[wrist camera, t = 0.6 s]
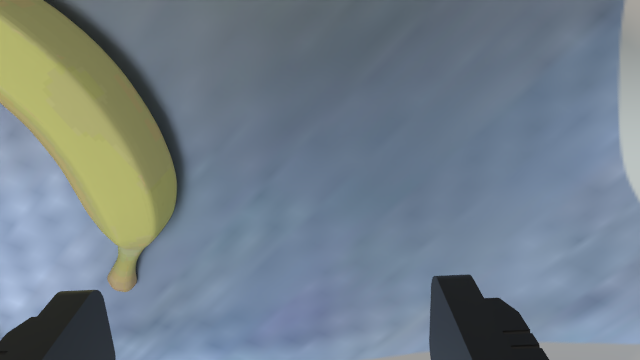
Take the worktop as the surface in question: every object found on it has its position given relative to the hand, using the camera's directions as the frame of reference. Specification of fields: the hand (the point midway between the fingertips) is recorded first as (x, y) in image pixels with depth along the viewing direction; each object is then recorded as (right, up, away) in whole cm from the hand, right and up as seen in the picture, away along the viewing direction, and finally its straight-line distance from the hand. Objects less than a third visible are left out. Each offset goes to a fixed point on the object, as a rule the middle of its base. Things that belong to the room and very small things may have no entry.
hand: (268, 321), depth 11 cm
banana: (-14, +6, +19) cm, 25 cm away
